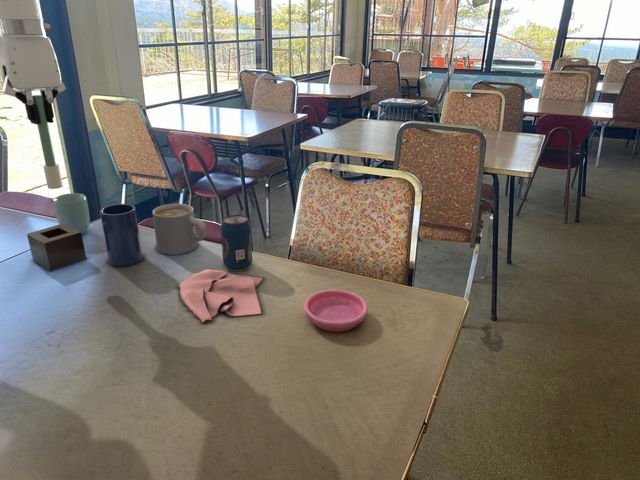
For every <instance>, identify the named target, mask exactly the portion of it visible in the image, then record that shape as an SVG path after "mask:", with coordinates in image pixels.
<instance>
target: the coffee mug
mask: <svg viewBox="0 0 640 480" xmlns="http://www.w3.org/2000/svg"><path fill="white" fill-rule="evenodd" d="M152 219H153V228H154V235H155V243H156V250H157V251H158V252H159V253H160V254H165V255H183V254H186V253H189V252H192V251H193V250H195V249H196V248H197V246H198V243H200V242H202V241H203V240H205V238H206V236H207V228H206V224H205V222H204V221H203V220H201V219H199V218H196V217H195V210H194V207H193V206H192V205H189V204H186V203H168V204H163V205H159V206H157V207H155V208H154V209H152ZM196 225H197V227H198V228H199V234H198V233H197V231H196Z"/></svg>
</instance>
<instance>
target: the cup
mask: <svg viewBox="0 0 640 480" xmlns="http://www.w3.org/2000/svg"><path fill="white" fill-rule="evenodd" d="M52 203H53V208H54V212H55V216H56V220H57V225H59V224H65V225H68V226H70V227H72V228H74V229H76V230H78V231H80V232H81V233H82V234H84V233H86V232H87V231H88V230H89V229H90V225H91V217H90V209H89V203H88V199H87V196H86V195H85V194H84V193H80V192H79V193H77V192H76V193H75V192H74V193H65V194H64V193H63V194H60V195H57V196H56V197H54V198H53V199H52Z"/></svg>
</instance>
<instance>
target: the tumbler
mask: <svg viewBox="0 0 640 480" xmlns="http://www.w3.org/2000/svg"><path fill="white" fill-rule="evenodd" d="M99 214H100V220H101V227H102V231H103V236H104V242H105V249H106V255H107V259H108V263H109V264H110V265H111V266H113V267H127V266H132V265H135V264H137V263H140V262H141V261H142V259H143V251H142V243H141V237H140V230H139V223H138V216H137V209H136V206H135V205H133V204H130V203H115V204H110V205H107V206H104V207H102V208H101V209H100V210H99Z"/></svg>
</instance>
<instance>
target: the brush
mask: <svg viewBox="0 0 640 480" xmlns="http://www.w3.org/2000/svg"><path fill="white" fill-rule="evenodd" d="M32 96H33V101H34V105H37V107H38V112H39V117H40V122H41V123H40V124H38V125H37V129H38V134H39V135H38V136H39V140H40V144H41V149H42V154H43V158H44V163H45V164H44V165H43V172H44V176H45V180H46V186H47V189H50V190H57V189H61V188H63V187H64V186H63V181H62V175H61V171H60V166H59V164H58V163H56V158H55V153H54V147H53V142H52V139H51V133H50V128H49V122H47V117H46V112H45V107H44V102H43V97H42V95H41V94H35V95H33V94H32Z"/></svg>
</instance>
